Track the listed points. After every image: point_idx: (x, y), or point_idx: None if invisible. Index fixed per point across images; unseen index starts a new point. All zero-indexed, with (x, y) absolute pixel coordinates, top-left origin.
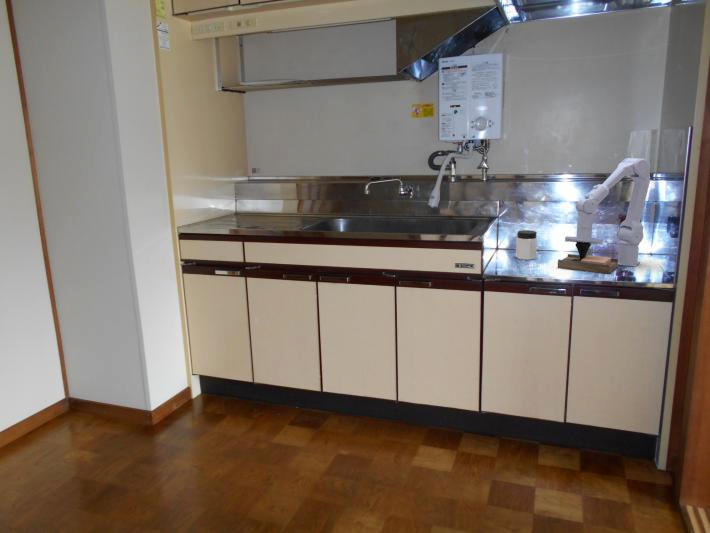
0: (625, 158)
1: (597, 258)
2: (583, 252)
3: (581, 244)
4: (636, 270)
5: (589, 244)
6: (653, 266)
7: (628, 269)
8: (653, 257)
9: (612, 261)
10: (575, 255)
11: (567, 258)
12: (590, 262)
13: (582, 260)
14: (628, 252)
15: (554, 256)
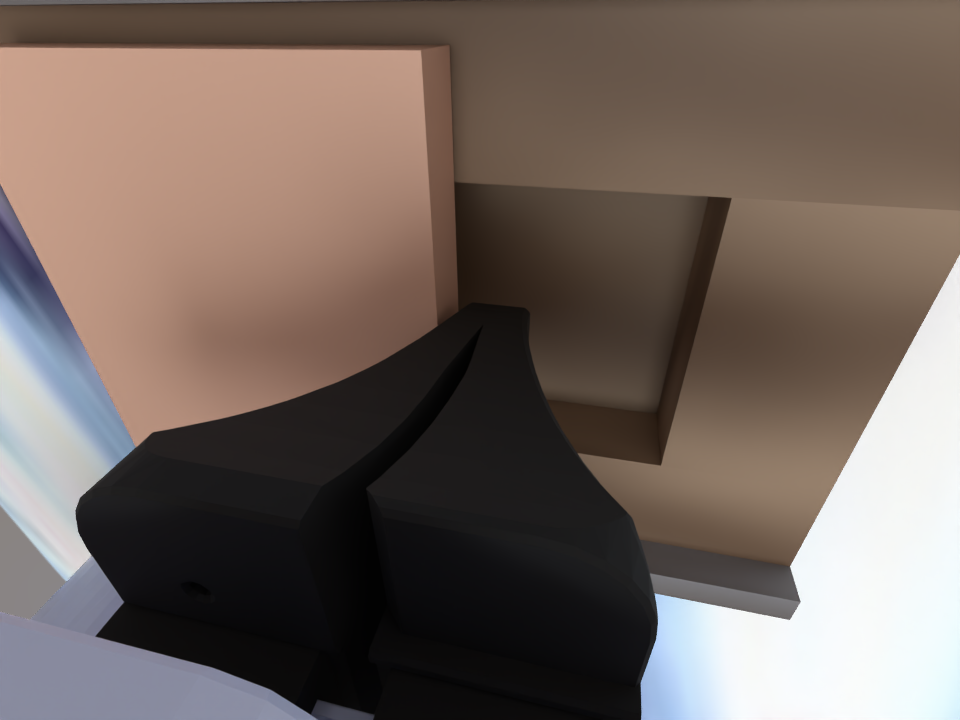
0: None
1: (244, 378)
2: (403, 372)
3: (392, 598)
4: (17, 362)
5: (131, 592)
6: (57, 524)
7: (82, 375)
8: None
9: None
10: (662, 568)
11: (792, 445)
12: (213, 45)
13: (383, 50)
14: (56, 613)
15: (941, 693)
